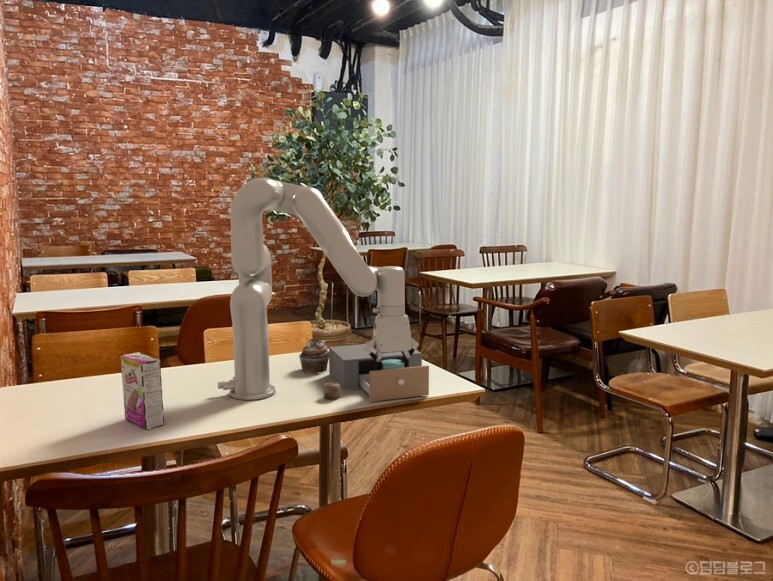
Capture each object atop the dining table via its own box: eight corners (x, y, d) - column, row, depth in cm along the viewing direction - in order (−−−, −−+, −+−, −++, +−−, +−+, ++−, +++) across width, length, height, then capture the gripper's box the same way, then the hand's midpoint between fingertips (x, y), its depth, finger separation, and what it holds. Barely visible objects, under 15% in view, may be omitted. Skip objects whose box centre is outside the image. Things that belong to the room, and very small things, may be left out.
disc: (384, 372, 166) (384, 366, 166) (376, 366, 172) (376, 360, 172) (408, 369, 168) (408, 364, 168) (399, 363, 175) (399, 358, 174)
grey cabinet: (421, 381, 181) (421, 353, 180) (344, 390, 173) (344, 360, 172) (401, 367, 197) (401, 341, 195) (329, 374, 189) (328, 347, 187)
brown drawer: (430, 395, 166) (430, 367, 165) (371, 402, 161) (371, 372, 160) (406, 378, 183) (406, 352, 182) (352, 384, 177) (352, 357, 176)
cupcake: (300, 366, 198) (299, 336, 197) (329, 365, 199) (329, 335, 198) (298, 374, 189) (298, 343, 187) (330, 373, 190) (329, 342, 188)
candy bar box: (123, 419, 149) (119, 355, 147) (143, 414, 153) (139, 351, 151) (145, 431, 142) (141, 363, 140) (165, 425, 146) (161, 359, 143)
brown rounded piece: (326, 400, 164) (325, 388, 163) (322, 395, 168) (322, 383, 167) (341, 398, 165) (341, 386, 165) (337, 394, 169) (337, 382, 169)
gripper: (365, 315, 162) (367, 380, 164) (425, 310, 167) (425, 373, 170) (357, 311, 169) (358, 373, 171) (415, 306, 174) (415, 366, 177)
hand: (392, 372), depth 170 cm, fingers closed on disc, 6 cm apart
